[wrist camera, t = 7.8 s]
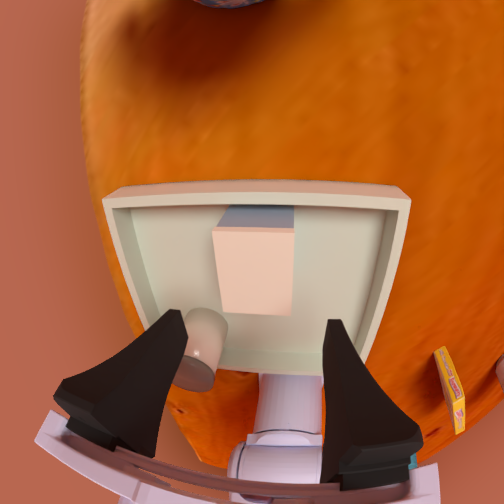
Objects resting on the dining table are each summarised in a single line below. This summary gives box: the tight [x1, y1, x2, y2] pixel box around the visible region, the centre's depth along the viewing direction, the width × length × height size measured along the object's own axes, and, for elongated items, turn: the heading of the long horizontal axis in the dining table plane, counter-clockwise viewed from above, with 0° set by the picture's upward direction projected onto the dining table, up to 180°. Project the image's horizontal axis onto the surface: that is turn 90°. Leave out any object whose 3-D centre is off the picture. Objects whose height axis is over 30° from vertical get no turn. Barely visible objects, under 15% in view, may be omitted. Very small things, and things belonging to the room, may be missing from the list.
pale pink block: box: [212, 204, 295, 316], centre depth 19 cm, size 6×5×5 cm
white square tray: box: [102, 179, 411, 376], centre depth 22 cm, size 19×22×3 cm
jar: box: [172, 308, 228, 392], centre depth 24 cm, size 5×5×7 cm
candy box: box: [433, 346, 465, 434], centre depth 24 cm, size 16×2×8 cm, turn 38°
